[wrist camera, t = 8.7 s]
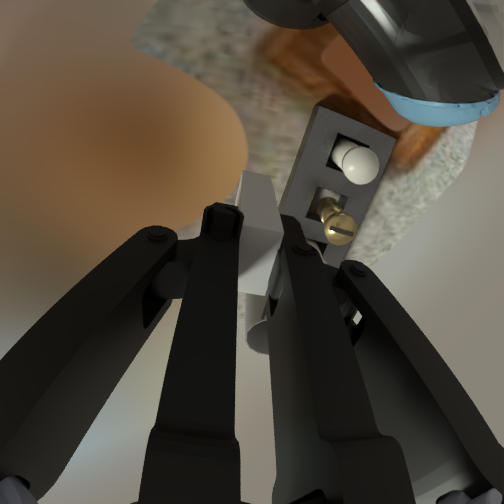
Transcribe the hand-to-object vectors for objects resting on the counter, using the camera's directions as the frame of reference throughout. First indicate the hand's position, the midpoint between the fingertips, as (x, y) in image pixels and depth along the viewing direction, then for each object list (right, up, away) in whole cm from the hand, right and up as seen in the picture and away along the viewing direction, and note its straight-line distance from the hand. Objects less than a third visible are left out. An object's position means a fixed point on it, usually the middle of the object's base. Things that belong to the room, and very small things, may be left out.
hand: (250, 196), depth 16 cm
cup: (+3, -11, +38) cm, 39 cm away
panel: (+11, +5, +28) cm, 30 cm away
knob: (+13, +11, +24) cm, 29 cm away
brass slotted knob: (+11, +3, +25) cm, 28 cm away
